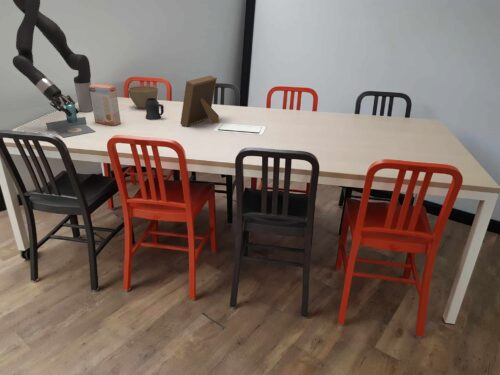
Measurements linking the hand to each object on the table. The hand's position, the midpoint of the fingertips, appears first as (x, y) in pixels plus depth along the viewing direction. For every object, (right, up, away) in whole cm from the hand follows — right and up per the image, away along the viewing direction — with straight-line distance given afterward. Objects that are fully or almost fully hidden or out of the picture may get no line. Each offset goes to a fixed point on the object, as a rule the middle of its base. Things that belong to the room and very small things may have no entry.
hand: (74, 114), depth 193 cm
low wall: (-8, -5, +10) cm, 14 cm away
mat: (-2, -8, +5) cm, 9 cm away
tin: (-2, -4, +2) cm, 5 cm away
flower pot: (+23, +14, +50) cm, 56 cm away
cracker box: (+11, -2, +18) cm, 21 cm away
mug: (+35, +3, +29) cm, 45 cm away
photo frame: (+64, -1, +21) cm, 67 cm away
